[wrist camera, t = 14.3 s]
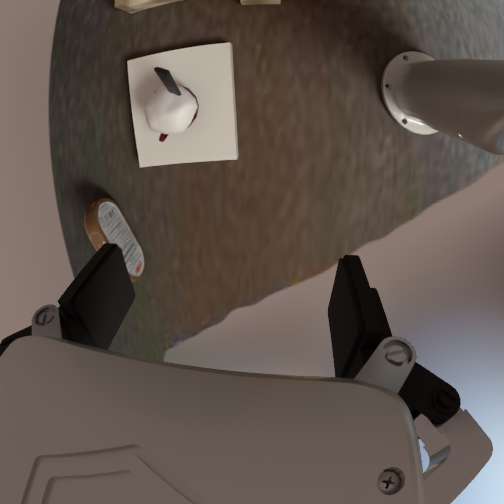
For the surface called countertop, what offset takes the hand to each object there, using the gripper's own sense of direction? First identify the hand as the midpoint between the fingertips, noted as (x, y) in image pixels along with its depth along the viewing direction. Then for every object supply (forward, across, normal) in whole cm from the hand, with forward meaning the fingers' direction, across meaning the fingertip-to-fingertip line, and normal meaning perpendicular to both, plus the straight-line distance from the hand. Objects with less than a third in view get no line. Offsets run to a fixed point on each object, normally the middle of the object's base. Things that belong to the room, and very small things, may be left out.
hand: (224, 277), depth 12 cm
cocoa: (+27, +10, -5) cm, 30 cm away
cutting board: (+29, +11, -5) cm, 32 cm away
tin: (+29, +23, +14) cm, 40 cm away
